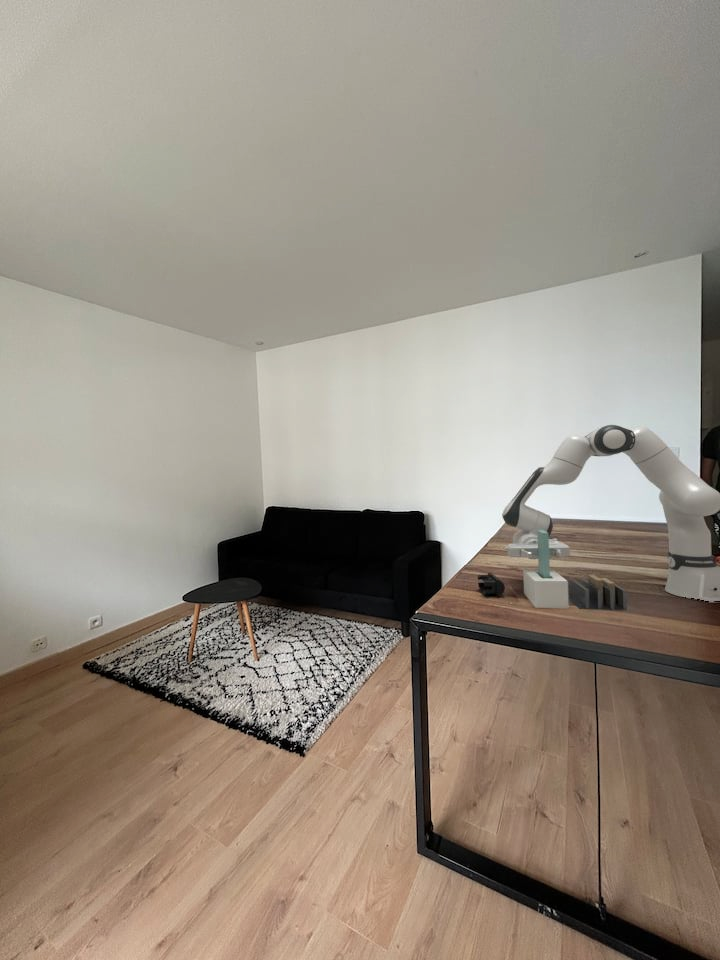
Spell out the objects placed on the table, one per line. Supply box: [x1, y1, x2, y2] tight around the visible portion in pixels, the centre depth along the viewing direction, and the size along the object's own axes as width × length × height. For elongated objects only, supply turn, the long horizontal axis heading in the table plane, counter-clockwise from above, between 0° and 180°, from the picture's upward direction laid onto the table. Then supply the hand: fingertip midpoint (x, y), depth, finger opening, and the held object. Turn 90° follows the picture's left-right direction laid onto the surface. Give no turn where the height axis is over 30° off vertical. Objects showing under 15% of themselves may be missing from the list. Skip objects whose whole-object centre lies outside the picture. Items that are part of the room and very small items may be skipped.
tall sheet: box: [537, 530, 551, 578], centre depth 125 cm, size 2×6×24 cm, turn 170°
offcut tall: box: [587, 574, 603, 605], centre depth 122 cm, size 2×6×8 cm, turn 170°
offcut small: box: [600, 577, 616, 605], centre depth 122 cm, size 2×6×7 cm, turn 170°
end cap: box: [477, 572, 506, 598], centre depth 138 cm, size 10×7×7 cm
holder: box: [522, 569, 570, 609], centre depth 125 cm, size 10×14×10 cm
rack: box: [567, 576, 635, 611], centre depth 122 cm, size 16×15×7 cm
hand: (544, 555), depth 124 cm, fingers open, 8 cm apart
